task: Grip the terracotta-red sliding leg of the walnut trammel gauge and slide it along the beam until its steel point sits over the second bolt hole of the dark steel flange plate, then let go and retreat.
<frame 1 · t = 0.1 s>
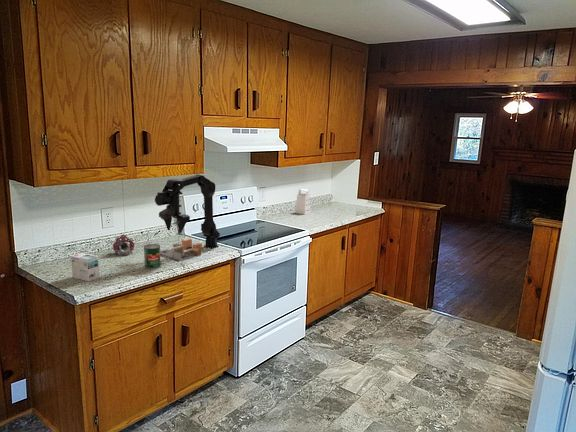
hand: (174, 231, 237), 15 cm above the countertop, fingers open, 9 cm apart
maroon piece: (123, 253, 244), on the countertop
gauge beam: (187, 252, 251), on the countertop
light bulb box: (86, 278, 205), on the countertop
sliding leg: (181, 246, 247), point 4 cm above the countertop, slide at 0.0 cm
flange plate: (173, 255, 243), on the countertop
grater: (302, 212, 375), on the countertop
canned tomato: (152, 267, 224), on the countertop
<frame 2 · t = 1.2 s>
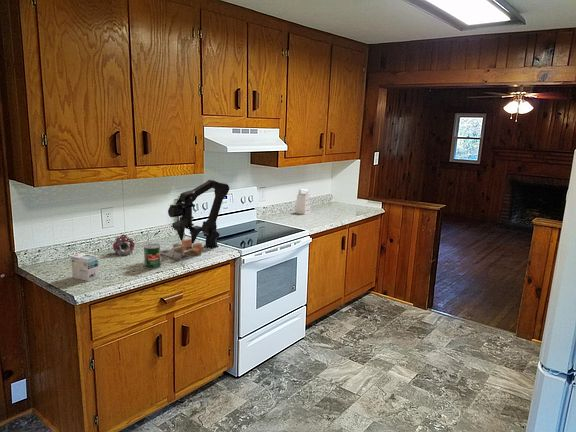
hand: (187, 241, 249), 6 cm above the countertop, fingers open, 9 cm apart
nothing on the countertop moved.
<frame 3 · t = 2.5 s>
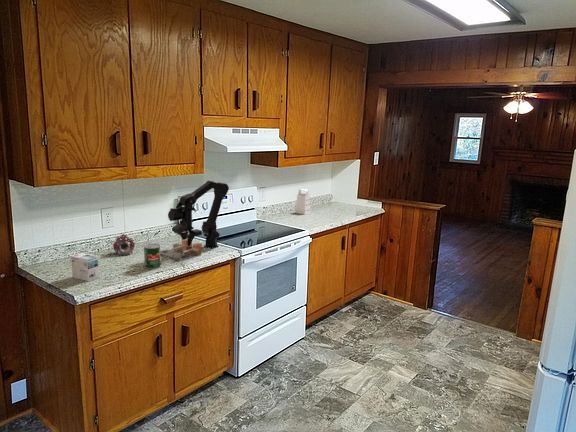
hand: (187, 245, 250), 4 cm above the countertop, fingers closed on sliding leg, 3 cm apart
sliding leg: (181, 246, 247), point 4 cm above the countertop, slide at 0.0 cm, touching gripper
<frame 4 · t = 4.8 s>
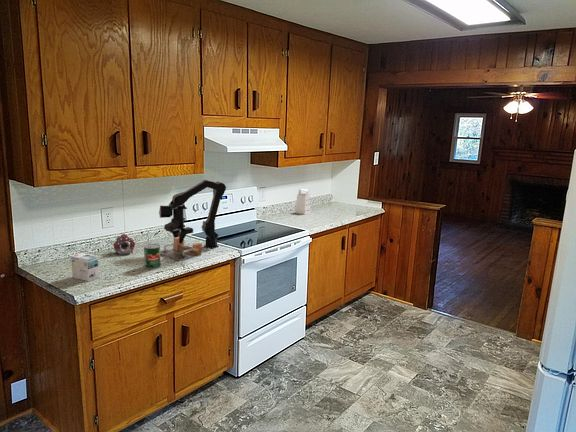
hand: (178, 243, 254), 4 cm above the countertop, fingers closed on sliding leg, 3 cm apart
sliding leg: (173, 244, 250), point 4 cm above the countertop, slide at 6.9 cm, touching gripper
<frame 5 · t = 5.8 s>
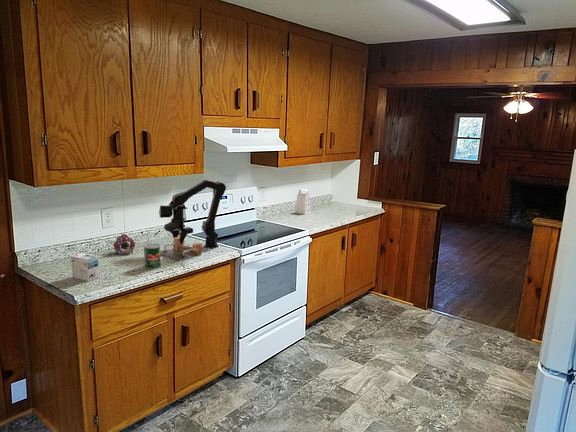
hand: (178, 243, 254), 4 cm above the countertop, fingers open, 4 cm apart
sliding leg: (173, 244, 250), point 4 cm above the countertop, slide at 6.9 cm
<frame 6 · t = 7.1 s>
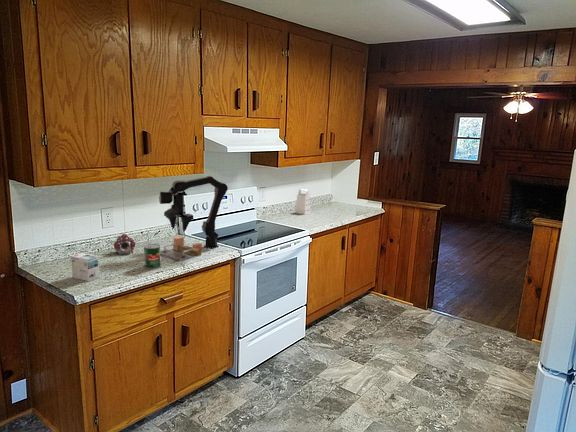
hand: (178, 229, 252), 12 cm above the countertop, fingers open, 9 cm apart
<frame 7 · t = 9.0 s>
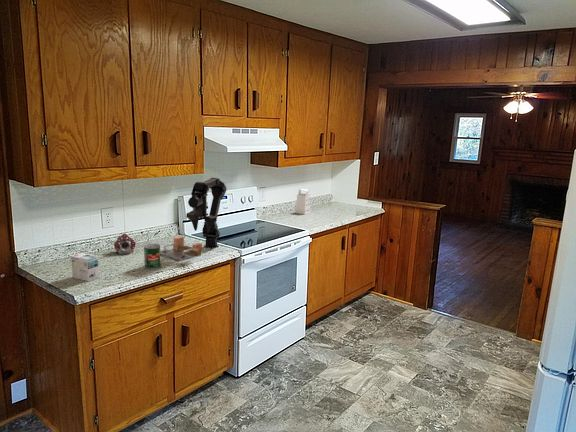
hand: (201, 231, 247), 12 cm above the countertop, fingers open, 9 cm apart
at the end: sliding leg slide at 6.9 cm; the gripper is holding nothing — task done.
